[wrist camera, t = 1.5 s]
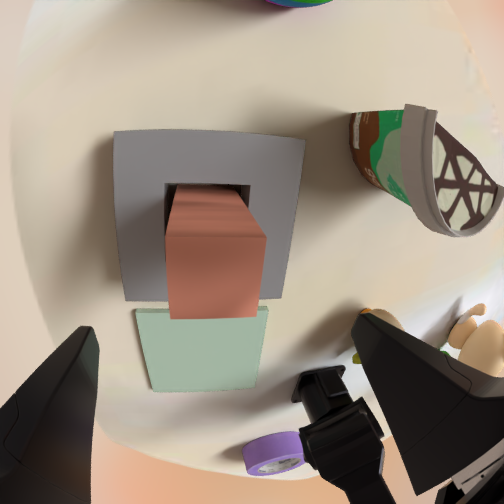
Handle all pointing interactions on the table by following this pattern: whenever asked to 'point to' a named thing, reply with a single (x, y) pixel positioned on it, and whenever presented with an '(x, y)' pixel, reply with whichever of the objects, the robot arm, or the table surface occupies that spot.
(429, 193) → the food container
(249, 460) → the tape roll
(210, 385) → the board
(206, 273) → the peg
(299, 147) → the pocket block
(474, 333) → the kitten
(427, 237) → the table surface
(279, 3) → the decorative egg
